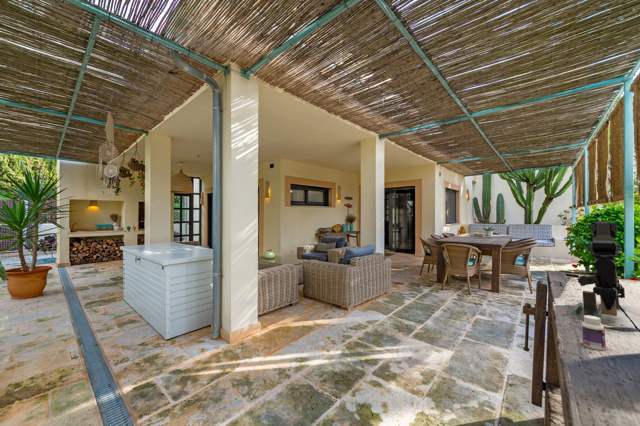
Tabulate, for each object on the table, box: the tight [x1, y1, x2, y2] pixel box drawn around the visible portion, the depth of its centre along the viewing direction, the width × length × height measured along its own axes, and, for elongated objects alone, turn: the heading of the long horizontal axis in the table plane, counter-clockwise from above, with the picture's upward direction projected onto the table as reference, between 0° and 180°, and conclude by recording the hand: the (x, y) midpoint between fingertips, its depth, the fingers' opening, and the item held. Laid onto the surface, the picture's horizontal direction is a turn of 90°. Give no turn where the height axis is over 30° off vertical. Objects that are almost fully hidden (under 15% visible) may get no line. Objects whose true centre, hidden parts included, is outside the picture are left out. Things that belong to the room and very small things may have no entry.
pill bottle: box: [580, 315, 607, 351], centre depth 88 cm, size 5×5×10 cm
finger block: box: [599, 295, 618, 317], centre depth 107 cm, size 3×4×8 cm
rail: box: [571, 302, 603, 318], centre depth 118 cm, size 16×8×3 cm, turn 128°
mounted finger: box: [582, 290, 598, 311], centre depth 121 cm, size 3×4×8 cm
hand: (608, 309), depth 107 cm, fingers closed on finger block, 3 cm apart
